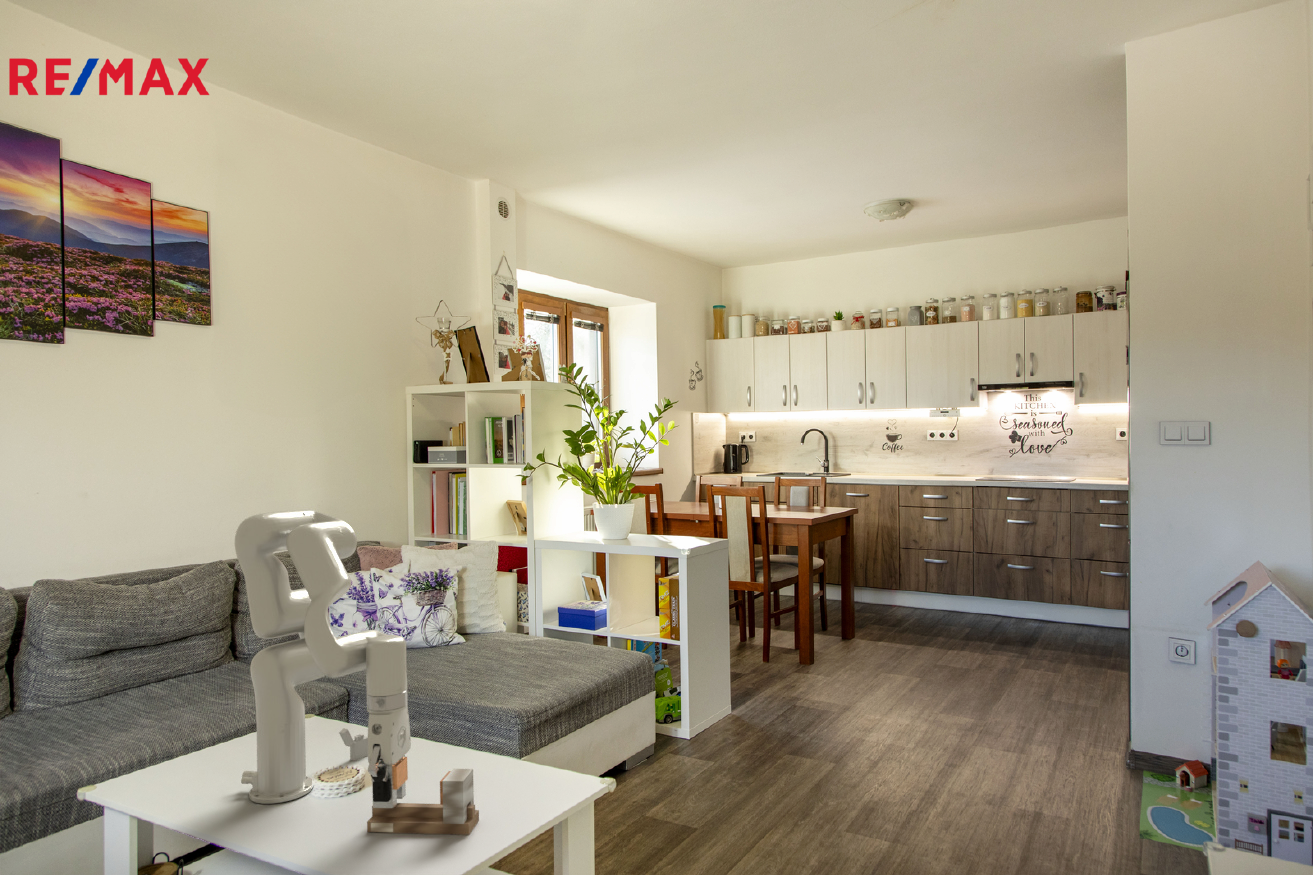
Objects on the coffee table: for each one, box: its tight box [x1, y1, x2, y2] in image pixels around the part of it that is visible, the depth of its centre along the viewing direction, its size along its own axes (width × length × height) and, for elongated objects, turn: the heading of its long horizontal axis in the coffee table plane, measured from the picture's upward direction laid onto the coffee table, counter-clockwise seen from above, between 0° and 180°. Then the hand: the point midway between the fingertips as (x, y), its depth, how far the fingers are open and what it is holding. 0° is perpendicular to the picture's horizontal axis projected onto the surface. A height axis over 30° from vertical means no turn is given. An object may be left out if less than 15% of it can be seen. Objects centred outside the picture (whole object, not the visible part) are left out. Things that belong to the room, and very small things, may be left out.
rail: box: [366, 768, 480, 836], centre depth 159 cm, size 20×6×10 cm, turn 84°
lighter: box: [338, 728, 368, 762], centre depth 195 cm, size 7×2×8 cm, turn 149°
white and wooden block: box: [371, 754, 409, 808], centre depth 160 cm, size 5×6×8 cm
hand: (389, 793), depth 160 cm, fingers closed on white and wooden block, 6 cm apart
